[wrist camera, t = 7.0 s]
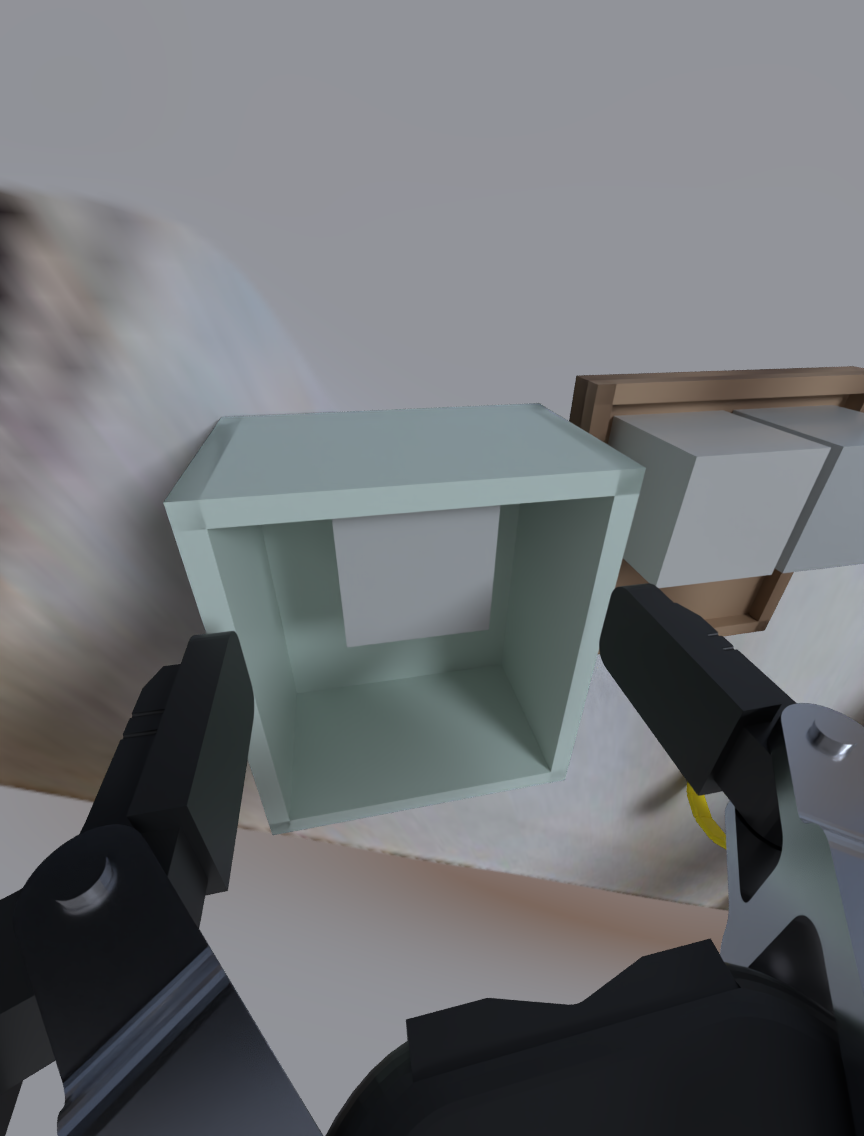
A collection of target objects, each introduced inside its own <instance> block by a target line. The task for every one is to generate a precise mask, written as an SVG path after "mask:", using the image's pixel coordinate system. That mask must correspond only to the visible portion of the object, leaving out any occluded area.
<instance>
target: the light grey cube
mask: <svg viewBox="0 0 864 1136" xmlns="http://www.w3.org/2000/svg"><path fill="white" fill-rule="evenodd" d="M608 445H609V446H611V447H612V448H614V449H616V450H617V451H619V452H621V453H622V454H624V455H626V456H627V457H629V458H630V459H632V460H634V461H635V462H637V463H639V464H640V465H642V466H644V467H645V468H646V470H645V474H644V478H643V482H642V486H641V490H640V493H639V497H638V501H637V505H636V509H635V513H634V516H633V520H632V524H631V528H630V532H629V536H628V540H627V543H626V547H625V551H624V555H623V559H624V560H625V561H627V562H628V563H629V564H630V565H631V566H632V567H633V568H634V569H635V570H636V571H637V572H638V573H639V574H640V575H641V576H642V577H643V578H644V579H645V580H647V581H648V582H649V583H651V584H654V585H655V586H657V587H658V588H665V587H674V586H682V585H690V584H698V583H707V582H715V581H723V580H732V579H740V578H748V577H757V576H765V575H772V573H773V570H774V568H775V566H776V564H777V562H778V560H779V558H780V556H781V553H782V551H783V549H784V547H785V545H786V543H787V541H788V539H789V536H790V534H791V532H792V530H793V528H794V526H795V524H796V522H797V519H798V517H799V515H800V513H801V511H802V509H803V507H804V505H805V502H806V500H807V498H808V496H809V494H810V492H811V490H812V487H813V485H814V483H815V481H816V479H817V477H818V475H819V473H820V470H821V468H822V466H823V464H824V462H825V460H826V458H827V456H828V453H829V451H830V449H831V447H828V446H825V445H822V444H819V443H816V442H813V441H810V440H807V439H805V438H802V437H799V436H796V435H793V434H790V433H787V432H784V431H781V430H779V429H776V428H773V427H770V426H767V425H764V424H761V423H758V422H755V421H752V420H750V419H747V418H744V417H741V416H738V415H735V414H732V413H729V412H726V411H724V410H721V411H701V412H681V413H661V414H641V415H621V416H614V417H613V422H612V427H611V432H610V436H609V441H608Z"/></svg>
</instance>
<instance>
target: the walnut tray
mask: <svg viewBox="0 0 864 1136" xmlns="http://www.w3.org/2000/svg"><path fill="white" fill-rule="evenodd" d="M820 405H836V406H839V407H843V408H847V409H851V410H855V411H859V412H862V413H864V368H859V367H854V366H849V367H819V368H792V369H760V370H732V371H701V372H674V373H643V374H613V375H584V376H576V382H575V388H574V394H573V401H572V407H571V413H570V420H569V422H571V423H573V424H574V425H576V426H578V427H579V428H581V429H583V430H584V431H586V432H588V433H589V434H591V435H592V436H594V437H596V438H597V439H599V440H601V441H602V442H604V443H606V444H607V445H608V441H609V436H610V432H611V427H612V422H613V417H614V416H621V415H641V414H661V413H681V412H701V411H721V410H724V411H726V412H729V413H733V410H741V409H760V408H780V407H800V406H820ZM793 573H794V572H790V573H781V572H780V571H778V570H777V569H775V568H774V570H773V573H772V575H765V576H757V577H748V578H740V579H732V580H723V581H715V582H707V583H698V584H690V585H682V586H674V587H665V588H659V589H660V590H661V591H662V592H663V593H664V594H665V595H666V596H667V597H668V598H669V599H671V600H672V601H673V602H674V603H678V604H680V605H682V606H683V607H685V608H687V609H689V610H691V611H692V612H694V613H696V614H698V615H700V616H701V617H702V618H703V619H704V620H705V621H706V622H708V623H709V624H710V625H711V626H712V627H713V628H714V629H715V630H716V631H717V632H718V635H719V636H729V635H736V634H743V633H750V632H757V631H764V630H765V629H766V627H767V625H768V623H769V621H770V619H771V617H772V615H773V613H774V611H775V609H776V607H777V605H778V603H779V601H780V599H781V597H782V595H783V593H784V591H785V589H786V587H787V585H788V583H789V581H790V579H791V577H792V575H793ZM645 583H649V582H648V581H647V580H645V579H644V578H643V577H642V576H641V575H640V574H639V573H638V572H637V571H636V570H635V569H634V568H633V567H632V566H631V565H630V564H629V563H628V562H627V561H625V560H624V559H622V563H621V566H620V570H619V574H618V578H617V582H616V586H615V588H616V587H620V586H628V585H637V584H645ZM598 654H600V651H598Z"/></svg>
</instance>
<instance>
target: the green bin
mask: <svg viewBox="0 0 864 1136" xmlns="http://www.w3.org/2000/svg"><path fill="white" fill-rule="evenodd" d="M645 470H646V468H645V467H644V466H642V465H640V464H639V463H637V462H635V461H634V460H632V459H630V458H629V457H627V456H626V455H624V454H622V453H621V452H619V451H617V450H616V449H614V448H612V447H611V446H609V445H607V444H606V443H604V442H602V441H601V440H599V439H597V438H596V437H594V436H592V435H591V434H589V433H588V432H586V431H584V430H583V429H581V428H579V427H578V426H576V425H574V424H573V423H571V422H569V421H568V420H566V419H564V418H563V417H561V416H559V415H558V414H556V413H554V412H553V411H551V410H549V409H547V408H546V407H544V406H543V405H541V404H539V403H536V404H535V403H534V404H510V405H490V406H489V405H488V406H466V407H442V408H419V409H399V410H398V409H396V410H374V411H353V412H328V413H305V414H283V415H260V416H237V417H221V419H220V420H219V422H218V423H217V425H216V426H215V428H214V429H213V431H212V432H211V433H210V435H209V436H208V438H207V439H206V441H205V442H204V444H203V445H202V447H201V448H200V450H199V451H198V452H197V454H196V455H195V457H194V458H193V460H192V461H191V463H190V464H189V466H188V467H187V469H186V470H185V472H184V473H183V474H182V476H181V477H180V479H179V480H178V482H177V483H176V485H175V486H174V488H173V489H172V491H171V492H170V494H169V495H168V496H167V498H166V499H165V501H164V502H163V503H164V506H165V509H166V512H167V515H168V518H169V521H170V524H171V527H172V530H173V533H174V537H175V540H176V543H177V546H178V549H179V552H180V555H181V558H182V561H183V564H184V567H185V570H186V573H187V576H188V579H189V582H190V585H191V588H192V591H193V594H194V597H195V600H196V603H197V607H198V610H199V613H200V616H201V619H202V622H203V625H204V628H205V631H206V634H210V633H219V632H227V631H235V632H236V633H237V635H238V638H239V641H240V645H241V648H242V652H243V655H244V659H245V662H246V666H247V669H248V673H249V677H250V680H251V684H252V688H253V694H254V720H253V726H252V733H251V740H250V746H249V753H248V762H249V765H250V768H251V771H252V774H253V777H254V780H255V783H256V786H257V789H258V792H259V795H260V798H261V801H262V804H263V807H264V810H265V814H266V817H267V820H268V823H269V826H270V829H271V832H272V835H277V834H282V833H287V832H293V831H298V830H303V829H308V828H314V827H319V826H324V825H330V824H335V823H340V822H345V821H351V820H356V819H361V818H366V817H372V816H377V815H382V814H387V813H393V812H398V811H403V810H409V809H414V808H419V807H424V806H430V805H435V804H440V803H445V802H451V801H456V800H461V799H466V798H472V797H477V796H482V795H487V794H493V793H498V792H503V791H509V790H514V789H519V788H524V787H530V786H535V785H540V784H545V783H551V782H556V781H561V780H565V777H566V773H567V770H568V766H569V762H570V758H571V754H572V750H573V747H574V743H575V739H576V735H577V731H578V727H579V724H580V720H581V716H582V712H583V708H584V704H585V701H586V697H587V693H588V689H589V685H590V681H591V678H592V674H593V670H594V666H595V662H596V658H597V655H598V651H599V639H600V635H601V631H602V627H603V623H604V620H605V616H606V612H607V608H608V604H609V600H610V596H611V593H612V591H613V590H614V589H615V586H616V582H617V578H618V574H619V570H620V566H621V563H622V559H623V555H624V551H625V547H626V543H627V540H628V536H629V532H630V528H631V524H632V520H633V516H634V513H635V509H636V505H637V501H638V497H639V493H640V490H641V486H642V482H643V478H644V474H645ZM496 505H500V516H499V526H498V537H497V548H496V558H495V569H494V579H493V590H492V601H491V611H490V622H489V630H482V631H474V632H466V633H458V634H450V635H442V636H434V637H426V638H418V639H410V640H402V641H394V642H386V643H378V644H370V645H362V646H354V647H347V643H346V635H345V626H344V618H343V609H342V601H341V592H340V584H339V575H338V567H337V558H336V550H335V541H334V533H333V524H332V519H336V518H349V517H361V516H373V515H385V514H398V513H410V512H422V511H434V510H447V509H459V508H471V507H483V506H496Z"/></svg>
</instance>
